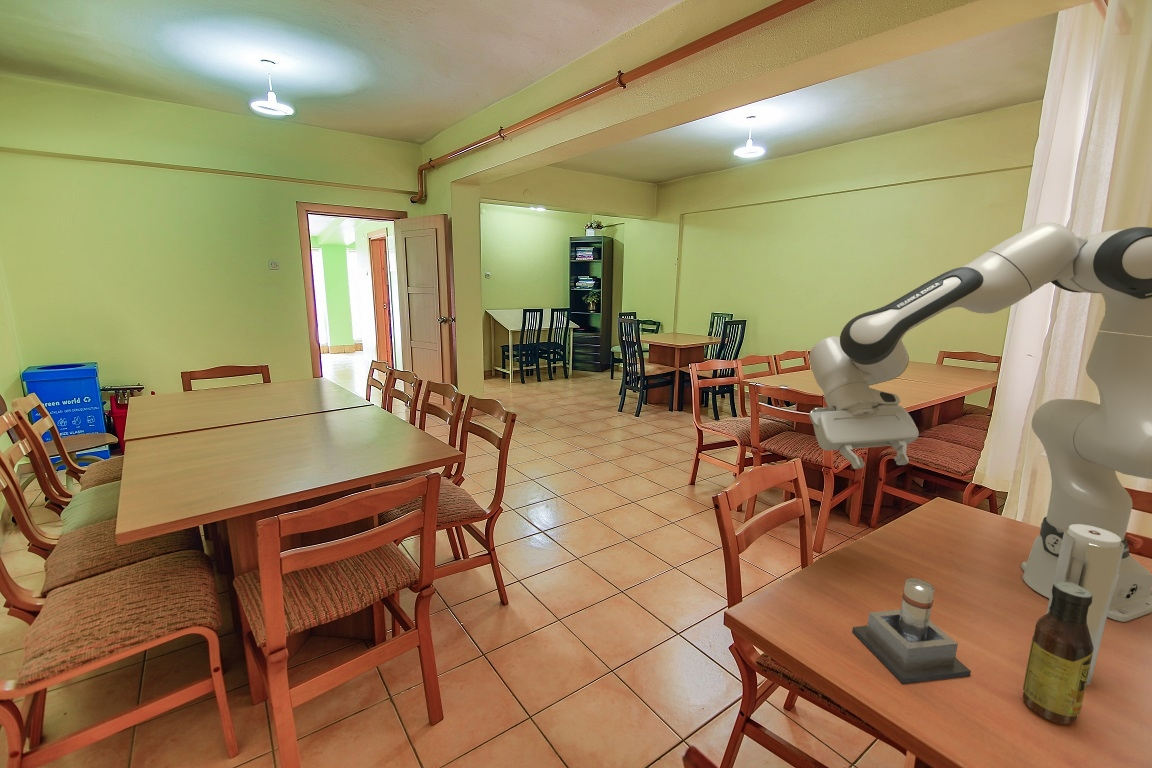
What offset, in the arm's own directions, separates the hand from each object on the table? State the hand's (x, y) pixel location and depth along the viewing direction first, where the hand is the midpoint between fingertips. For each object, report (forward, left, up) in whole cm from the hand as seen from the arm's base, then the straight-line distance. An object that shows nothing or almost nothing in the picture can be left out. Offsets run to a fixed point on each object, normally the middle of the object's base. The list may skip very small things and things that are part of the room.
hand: (881, 465), depth 97 cm
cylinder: (+5, +17, -26) cm, 32 cm away
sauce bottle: (-7, +30, -27) cm, 41 cm away
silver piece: (-17, +24, -27) cm, 40 cm away
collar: (+5, +17, -27) cm, 33 cm away
